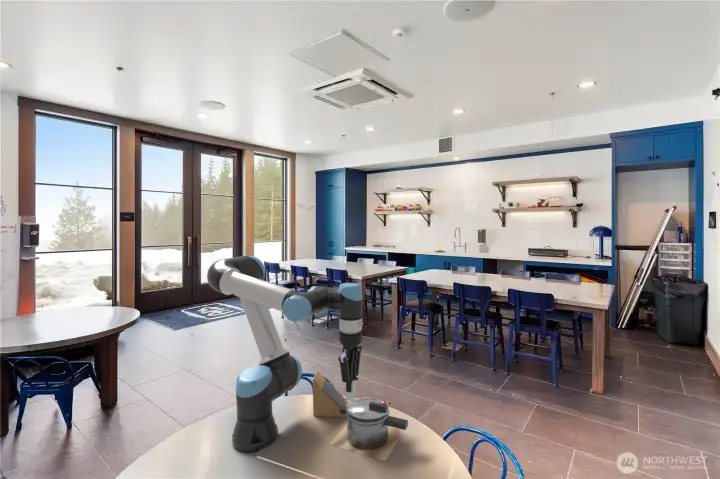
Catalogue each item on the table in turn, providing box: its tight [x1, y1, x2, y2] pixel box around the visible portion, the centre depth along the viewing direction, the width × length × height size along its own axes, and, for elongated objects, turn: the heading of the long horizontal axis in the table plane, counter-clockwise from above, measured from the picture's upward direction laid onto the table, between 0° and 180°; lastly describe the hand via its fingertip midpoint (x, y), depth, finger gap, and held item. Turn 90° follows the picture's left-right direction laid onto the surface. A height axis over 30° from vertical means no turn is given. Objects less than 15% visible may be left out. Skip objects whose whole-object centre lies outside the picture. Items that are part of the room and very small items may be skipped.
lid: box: [346, 395, 392, 420], centre depth 125 cm, size 14×15×3 cm
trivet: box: [328, 424, 405, 462], centre depth 126 cm, size 20×18×1 cm
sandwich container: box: [312, 370, 350, 418], centre depth 143 cm, size 9×15×15 cm, turn 87°
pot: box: [340, 405, 409, 450], centre depth 125 cm, size 24×16×9 cm, turn 64°
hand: (350, 399), depth 123 cm, fingers closed
